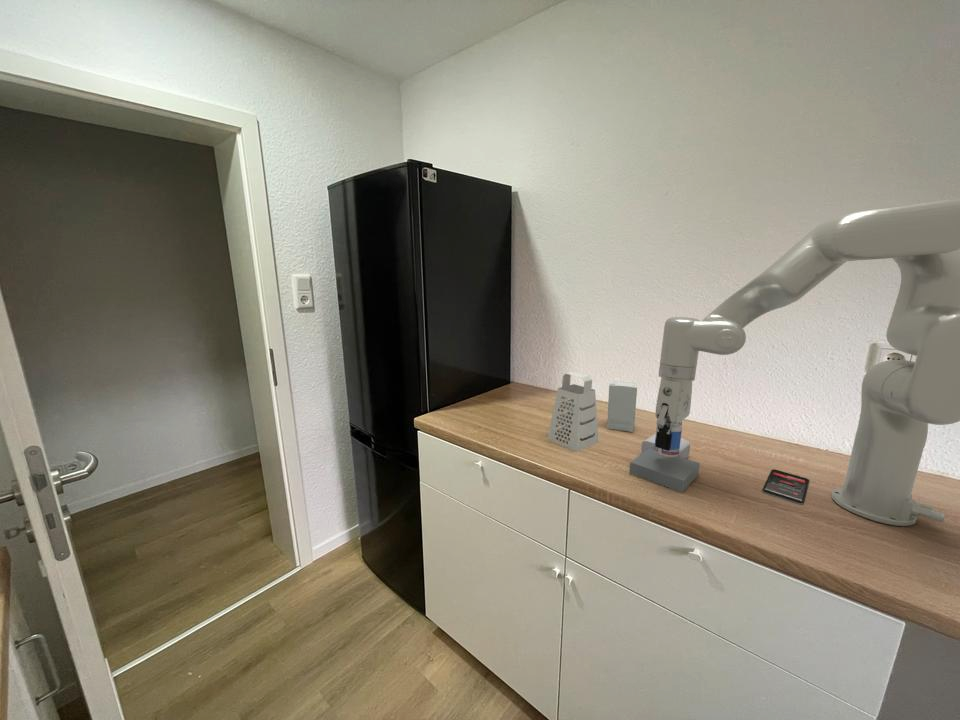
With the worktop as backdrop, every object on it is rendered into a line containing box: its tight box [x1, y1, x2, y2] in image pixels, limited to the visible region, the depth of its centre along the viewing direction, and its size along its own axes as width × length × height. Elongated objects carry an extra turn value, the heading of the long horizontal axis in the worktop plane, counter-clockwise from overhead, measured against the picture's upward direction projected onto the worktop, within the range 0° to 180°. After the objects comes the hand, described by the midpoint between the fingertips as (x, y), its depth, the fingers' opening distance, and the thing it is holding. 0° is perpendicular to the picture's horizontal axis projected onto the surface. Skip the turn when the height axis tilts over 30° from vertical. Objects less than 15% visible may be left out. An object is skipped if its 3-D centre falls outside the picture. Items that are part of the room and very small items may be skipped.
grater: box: [546, 371, 600, 453], centre depth 110 cm, size 10×10×20 cm
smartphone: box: [761, 468, 810, 506], centre depth 89 cm, size 7×1×15 cm
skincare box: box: [606, 380, 638, 433], centre depth 121 cm, size 8×6×15 cm
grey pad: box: [629, 448, 701, 494], centre depth 93 cm, size 12×12×3 cm
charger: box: [640, 432, 691, 459], centre depth 105 cm, size 5×9×15 cm
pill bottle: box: [654, 417, 683, 457], centre depth 91 cm, size 6×5×10 cm
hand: (667, 443), depth 92 cm, fingers closed on pill bottle, 5 cm apart
